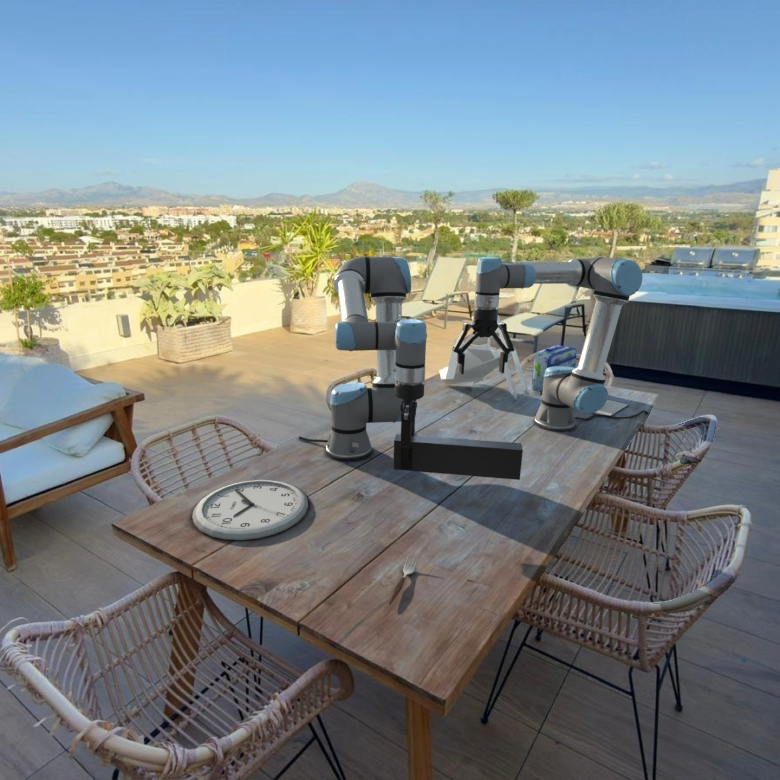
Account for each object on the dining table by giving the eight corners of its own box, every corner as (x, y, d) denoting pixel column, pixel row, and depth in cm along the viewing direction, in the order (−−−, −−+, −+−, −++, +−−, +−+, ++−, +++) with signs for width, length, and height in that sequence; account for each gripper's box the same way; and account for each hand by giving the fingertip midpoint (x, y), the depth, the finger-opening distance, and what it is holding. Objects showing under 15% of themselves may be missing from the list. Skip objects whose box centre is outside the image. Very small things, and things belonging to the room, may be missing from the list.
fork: (383, 605, 105) (383, 597, 105) (407, 560, 120) (408, 552, 119) (395, 608, 104) (395, 600, 104) (418, 562, 119) (419, 555, 118)
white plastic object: (461, 429, 252) (437, 405, 227) (444, 352, 274) (420, 323, 250) (535, 404, 240) (518, 377, 215) (510, 326, 262) (492, 293, 237)
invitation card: (608, 416, 214) (573, 407, 224) (608, 416, 214) (573, 408, 224) (628, 404, 229) (594, 396, 238) (628, 405, 229) (594, 397, 238)
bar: (518, 472, 138) (521, 443, 136) (519, 480, 134) (522, 450, 131) (395, 462, 143) (396, 434, 140) (393, 469, 138) (394, 440, 136)
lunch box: (548, 398, 236) (553, 353, 229) (527, 393, 243) (531, 349, 237) (575, 387, 253) (581, 344, 247) (555, 382, 260) (560, 341, 254)
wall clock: (304, 532, 127) (176, 536, 124) (304, 538, 127) (177, 542, 125) (311, 475, 155) (207, 478, 153) (311, 480, 156) (208, 483, 153)
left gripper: (399, 371, 141) (397, 450, 149) (390, 390, 125) (388, 478, 132) (427, 373, 140) (423, 452, 148) (421, 392, 124) (417, 481, 131)
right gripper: (450, 309, 160) (447, 376, 166) (528, 309, 163) (522, 374, 170) (444, 306, 167) (441, 370, 173) (519, 306, 171) (513, 368, 177)
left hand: (407, 464), depth 140 cm, fingers closed on bar, 4 cm apart
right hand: (481, 372), depth 172 cm, fingers open, 13 cm apart
